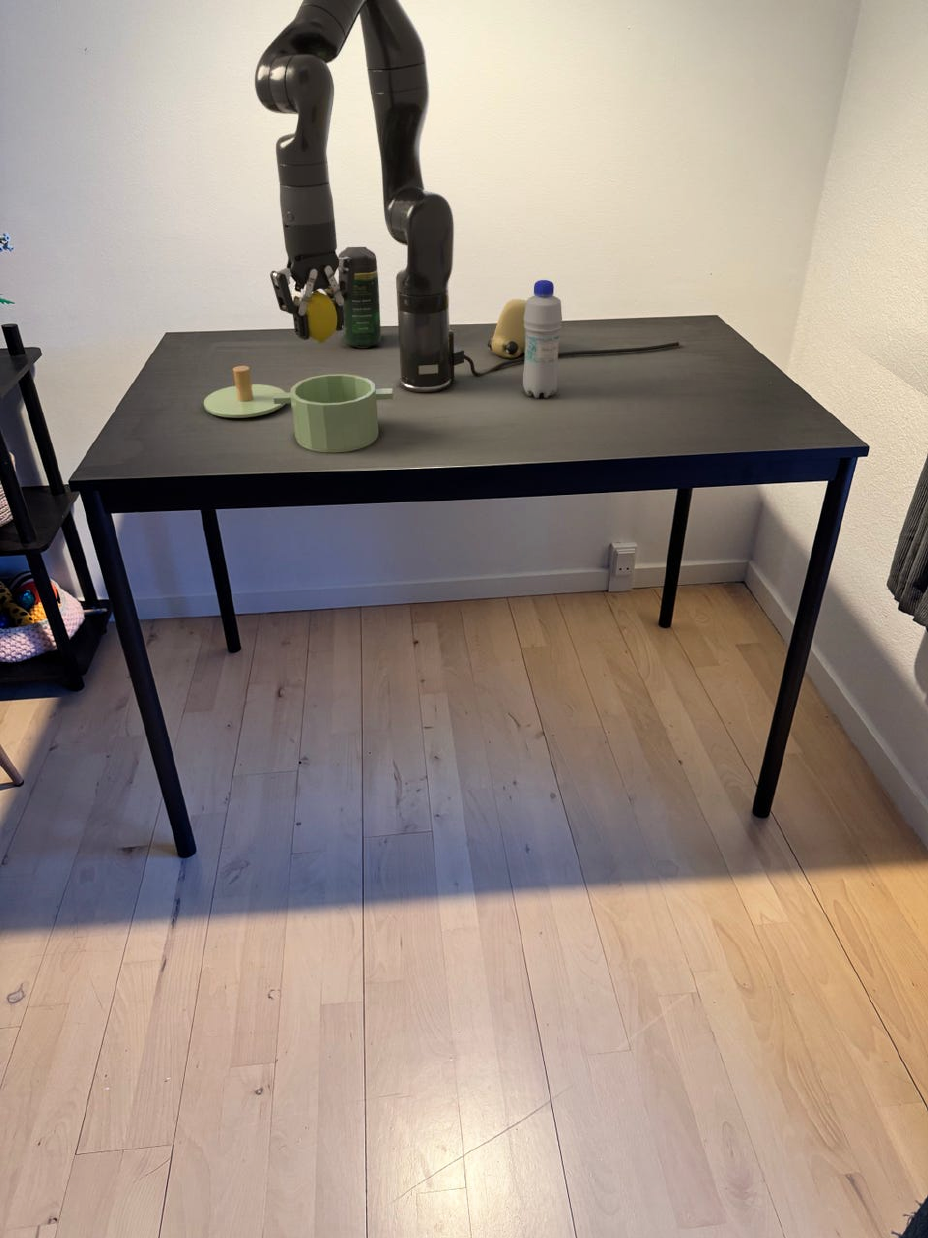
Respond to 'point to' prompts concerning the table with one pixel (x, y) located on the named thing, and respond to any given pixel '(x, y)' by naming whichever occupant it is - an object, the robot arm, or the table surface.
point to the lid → (243, 397)
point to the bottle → (541, 340)
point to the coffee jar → (362, 301)
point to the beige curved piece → (510, 330)
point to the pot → (334, 411)
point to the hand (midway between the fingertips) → (320, 333)
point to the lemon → (321, 317)
